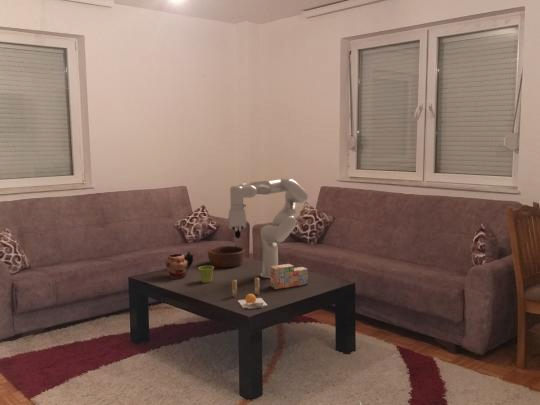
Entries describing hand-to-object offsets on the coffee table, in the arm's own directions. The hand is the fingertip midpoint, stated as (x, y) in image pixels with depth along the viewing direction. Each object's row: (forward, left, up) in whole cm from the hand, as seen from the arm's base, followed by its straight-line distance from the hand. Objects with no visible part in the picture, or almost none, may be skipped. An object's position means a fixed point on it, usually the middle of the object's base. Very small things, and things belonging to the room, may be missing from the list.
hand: (237, 237), depth 326 cm
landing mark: (+2, +41, -27) cm, 49 cm away
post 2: (-4, +27, -27) cm, 38 cm away
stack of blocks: (-27, +16, -28) cm, 41 cm away
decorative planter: (+34, -26, -27) cm, 51 cm away
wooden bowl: (-2, -46, -28) cm, 54 cm away
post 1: (+8, +27, -27) cm, 39 cm away
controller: (+26, -46, -27) cm, 59 cm away
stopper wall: (+2, +49, -27) cm, 56 cm away
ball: (+3, +43, -24) cm, 50 cm away
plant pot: (+18, -8, -27) cm, 34 cm away
